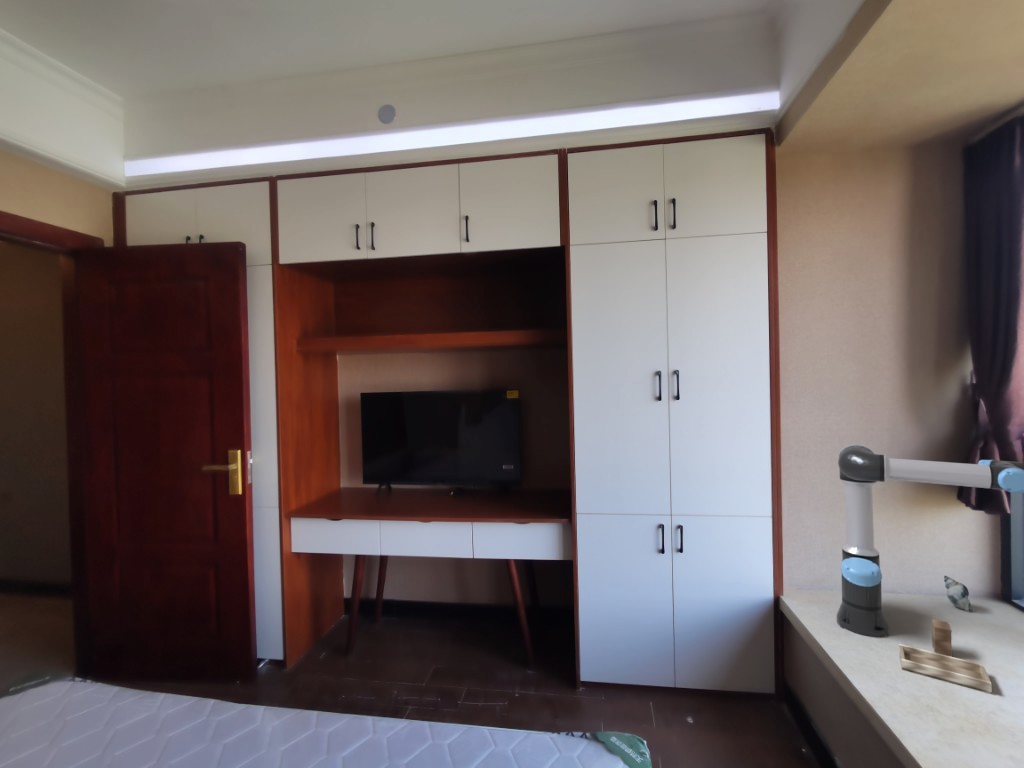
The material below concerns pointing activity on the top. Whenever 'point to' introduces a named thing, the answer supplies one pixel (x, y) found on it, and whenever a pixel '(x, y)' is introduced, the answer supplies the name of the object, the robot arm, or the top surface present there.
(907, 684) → the top surface
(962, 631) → the top surface
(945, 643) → the tan wooden block
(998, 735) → the top surface
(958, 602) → the seashell
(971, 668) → the open wooden box
